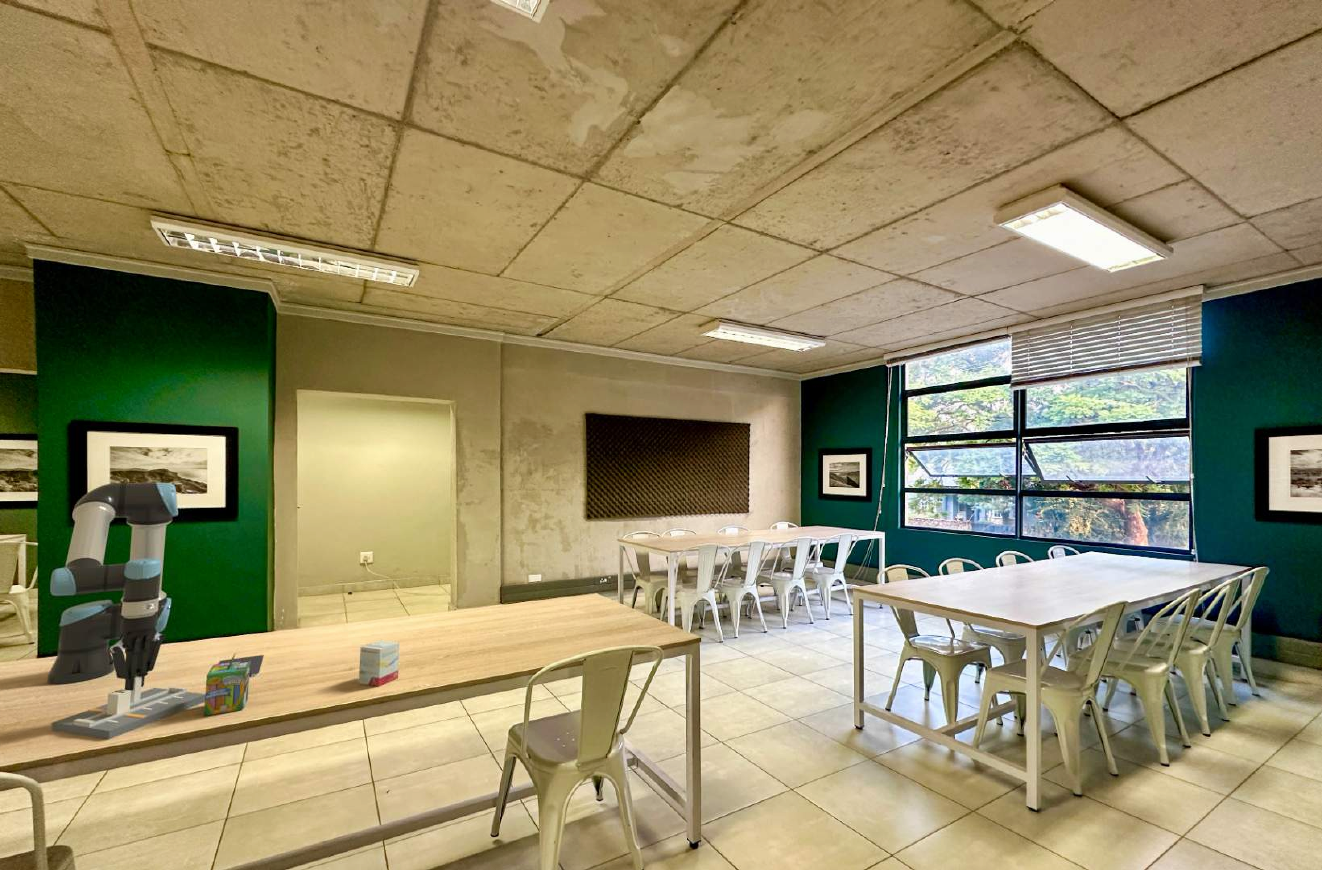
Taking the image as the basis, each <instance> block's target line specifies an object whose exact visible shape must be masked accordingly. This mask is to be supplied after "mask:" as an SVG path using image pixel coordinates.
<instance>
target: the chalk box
mask: <svg viewBox="0 0 1322 870" xmlns="http://www.w3.org/2000/svg"><path fill="white" fill-rule="evenodd" d="M236 654H237V653H236V652H235V653H234V654H233V656H232V657H231V659H232V660H231V662H230V663H224V664H219V663H217V664H213V665H211V667H210V670H209V671H208V673H207V675H206V682H205V693H204V694H205V702H204V709H203V710H204V711H203V717H207V716H210V715H211V716H212V715H219V714H226V713H231V712H238V711H239V712H240V711H243V710H244V708H245V707H246V704H247V702H248V699H249V696H248V695H249V686H250V685H249V683H250V677H249V675H250V663H251V661H242V662H233V660H234V659H235V656H236Z"/></svg>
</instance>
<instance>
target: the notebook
mask: <svg viewBox="0 0 1322 870" xmlns="http://www.w3.org/2000/svg"><path fill="white" fill-rule="evenodd" d="M264 657H265V655H264V654H260V655H252V656H245V657H244V656H243V657H237V658H234V660H233V662H242V661H251V663H250V675H249V678H251V677H258V676H259V675H260V671H261V668H262V665H263V664H262V663H263V661H264ZM231 660H232V658H231V659H230V658H229V659H223V660H219V661H218V664H224V663H230V662H231Z"/></svg>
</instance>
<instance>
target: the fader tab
mask: <svg viewBox="0 0 1322 870" xmlns="http://www.w3.org/2000/svg"><path fill="white" fill-rule="evenodd" d="M130 699H131V691H130V690H125V689H117V690H115V691H111V692H110V693H107V702H106V704H107V715H116V714H119V713H122V712H125V711H127V710H130Z"/></svg>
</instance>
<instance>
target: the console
mask: <svg viewBox="0 0 1322 870" xmlns="http://www.w3.org/2000/svg"><path fill="white" fill-rule="evenodd" d="M205 694H206V693H198V692H192V691H188V688H187V687H181V686H170V687H168V689H166V688H160V687H153V688H150V689H147V690H145V691H141V695H140V701H137V702H134V703H133V702H130V710H127V711H125V712H122V713H119V714H116V715H107V703H106V704H103V705H100V706H97V707H95V708H91V709H87V710H85V711H82V712H78V713H76V714H74V715H71V716H67V717H64V718H61V719H59V720H56V721H53V722H52V723H51V731H53V732H60V733H61V732H62V733H66V734H67V733H68V734H74V735H79V736H84V737H92V738H99V739H106V740H110V739H113V738H115V736H116V737H119V736H121V735H123V733H124V734H126V733H129V732H132V731H134V730H136V729H139V728H141V727H143V726H146V725H145V724H147V723H149V724H152V723H154V722H157V721H159V720H162V719H165V718H166V716H167V717H169V715H170V716H172V715H174V714H178V713H179V711H180V712H182V711H185V710H188V709H190V708H193V707H195V706H197V705H199V704H200V705H201V704H203V703H205ZM164 717H165V718H164ZM158 719H159V720H158ZM156 720H157V721H156ZM153 721H154V722H153ZM147 725H148V724H147ZM125 732H126V733H125ZM112 737H113V738H112Z"/></svg>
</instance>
